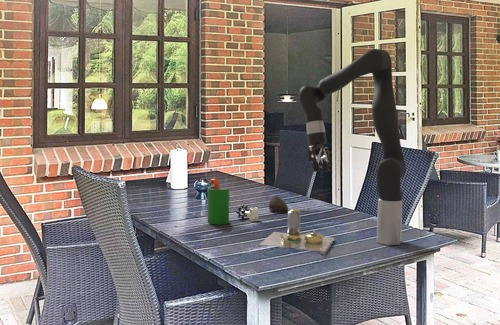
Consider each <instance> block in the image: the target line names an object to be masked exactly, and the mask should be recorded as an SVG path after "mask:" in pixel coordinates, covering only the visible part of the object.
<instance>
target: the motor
mask: <svg viewBox="0 0 500 325" xmlns="http://www.w3.org/2000/svg"><path fill="white" fill-rule="evenodd" d="M210 185H212V186H208V187H207V223H208V224H210V225H216V226H218V225H227V224H230V188H224V189H221V188H220V183H219V180H218V179H217V178H211V179H210Z"/></svg>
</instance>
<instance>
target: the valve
mask: <svg viewBox="0 0 500 325" xmlns="http://www.w3.org/2000/svg"><path fill="white" fill-rule="evenodd" d="M248 207H249V206H248V205H244V204H241V205H240V206H237V209H238V210H237V211H236V212H235V213H236V214H237V218H241V219H242V220H244V219H245V217H247V218H249V221H251V222H259V208H258V207H250V208H249V209H248Z"/></svg>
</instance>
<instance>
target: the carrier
mask: <svg viewBox="0 0 500 325" xmlns="http://www.w3.org/2000/svg"><path fill="white" fill-rule="evenodd" d="M286 233H287V232H278V231H273V232H272V233H271V234H270V235H268V237H266V238H264V239H263V241H262V242H260V243H259V246H267V247H268V246H269V247H276V248H277V247H278V248H285V249H286V248H288V249H296V250H305V251H307V250H308V251H315V252H316V251H318V252H317V255H326V253H327V252H328V250H329V249H330V247H331V246H332V245H333V243H334V242H333V241H335V237H331V236H324V235H323V234H322V233H320V232H315V231H314V232H307V233H304V234H301V240H299V241H289V240H287V239H286Z"/></svg>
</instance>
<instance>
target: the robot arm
mask: <svg viewBox="0 0 500 325" xmlns="http://www.w3.org/2000/svg"><path fill="white" fill-rule="evenodd" d="M369 74H372V78H373V85H374V90H373V92H374V93H373V97H372V101H371V102H372V104H371V113H372V114H371V116H372V121H373V126H374V130H375V132H376V134H377V137H378V139H379V141H380V144H381V147H382V153H383V154H382V156H383V160H381V161H380V162H379V163H378V165H377V168H376V192H377V212H376V213H377V216H376V218H377V220H376V242H377V243H378V244H380V245H381V244H382V245H387V246H396V245H398V246H401V243H402V228H403V196H404V195H403V192H402V190H401V180H402V178H404V176H406V172H407V167H406V166H407V165H406V161H405V158H404V153H403V149H402V144H401V136H400V128H399V117H398V111H397V106H396V99H395V91H394V87H393V85H394V84H393V63H392V57H391V55H390V53H389V52H388V51H387V50H385V49H380V48H371V49H368V50H366V52H364V53H363V54H362V55H360V56H359V57H358V58H356V59H355V60H353V61H352V62H351V63H349V64H348V65H346V66H345V67H343V68H340V69H339V70H337V71H335V72H333V73H331V74H329V75H328V76H326V77H324V78H322V79H320V81H319V82H318V85H316V86H311V85H303V86H302V87H301V88H300V90H299V95H298V96H299V97H298V98H299V102H300V105H301V107H302V110H303V113H304V115H305V116H304V117H305V125H306V134H307V135H306V136H307V143H308V147H307V150H308V151H307V152H308V161H309V162H311V163H312V166H313V172H314V173H315V172H316V173H317V172H319V171H320V165H319V163H320V162H319V160H320V161H321V163H322V164H321V165H322V171H323V173H326V172H327V173H328V172H329V162H331V158H330V152H329V148H328V147H325V146H324V145H325V144H327V142H328V141H327V135H326V134H327V133H326V128H325V124H324V118H323V113H322V109H321V108H320V107H319V106H317V104H318V103H320V102H323V101H324V100H325V99H326V98H328V97H329V95H331V94H335V93H336V92H337V91H340V90H341V89H343V88H345V87H346V86H348V84H350V83H352V82H353V81H354V80H356V79H358V78H360V77H362V76H366V75H369Z"/></svg>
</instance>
